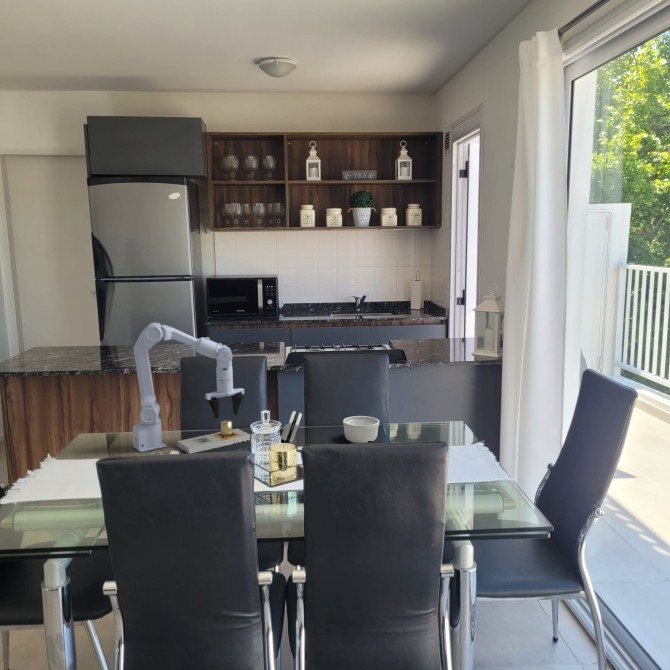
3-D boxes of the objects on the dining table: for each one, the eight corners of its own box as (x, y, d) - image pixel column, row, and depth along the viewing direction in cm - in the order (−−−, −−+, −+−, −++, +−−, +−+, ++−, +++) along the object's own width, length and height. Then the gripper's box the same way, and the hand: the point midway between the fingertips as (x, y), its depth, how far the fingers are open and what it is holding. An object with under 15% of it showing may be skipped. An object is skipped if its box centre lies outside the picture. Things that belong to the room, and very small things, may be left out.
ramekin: (382, 434, 218) (382, 416, 217) (375, 445, 205) (375, 426, 204) (347, 432, 221) (347, 414, 220) (339, 443, 209) (339, 424, 208)
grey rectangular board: (189, 453, 199) (188, 447, 199) (177, 446, 207) (177, 440, 206) (250, 439, 213) (250, 434, 213) (237, 433, 221) (237, 428, 221)
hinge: (284, 429, 227) (292, 405, 225) (295, 433, 227) (303, 409, 225) (278, 442, 210) (287, 417, 209) (290, 446, 210) (299, 421, 209)
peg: (224, 443, 210) (223, 424, 209) (219, 440, 213) (218, 421, 213) (234, 440, 213) (233, 422, 212) (229, 438, 216) (228, 419, 215)
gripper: (211, 383, 203) (212, 421, 204) (247, 378, 211) (249, 414, 213) (202, 380, 208) (203, 417, 210) (238, 375, 217) (239, 411, 219)
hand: (226, 416), depth 212 cm, fingers open, 7 cm apart
